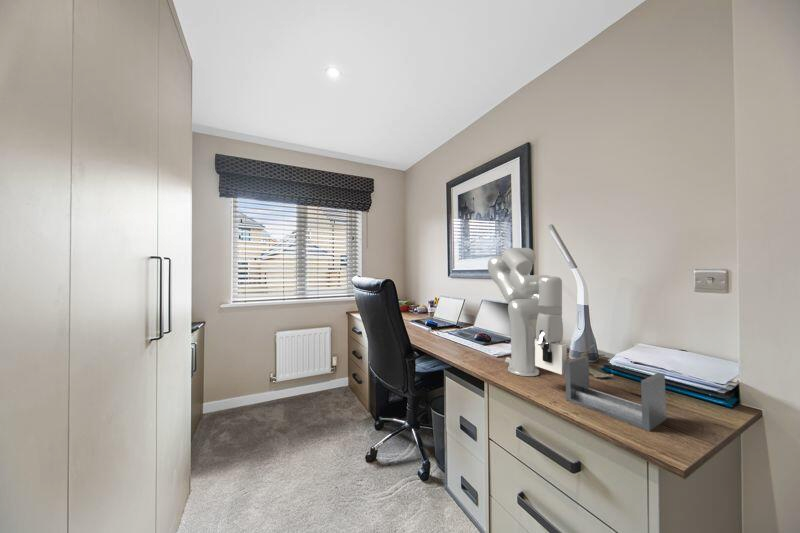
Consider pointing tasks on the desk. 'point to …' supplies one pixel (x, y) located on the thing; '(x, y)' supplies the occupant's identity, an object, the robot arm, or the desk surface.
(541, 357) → the door
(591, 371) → the jawbone
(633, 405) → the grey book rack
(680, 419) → the desk surface
